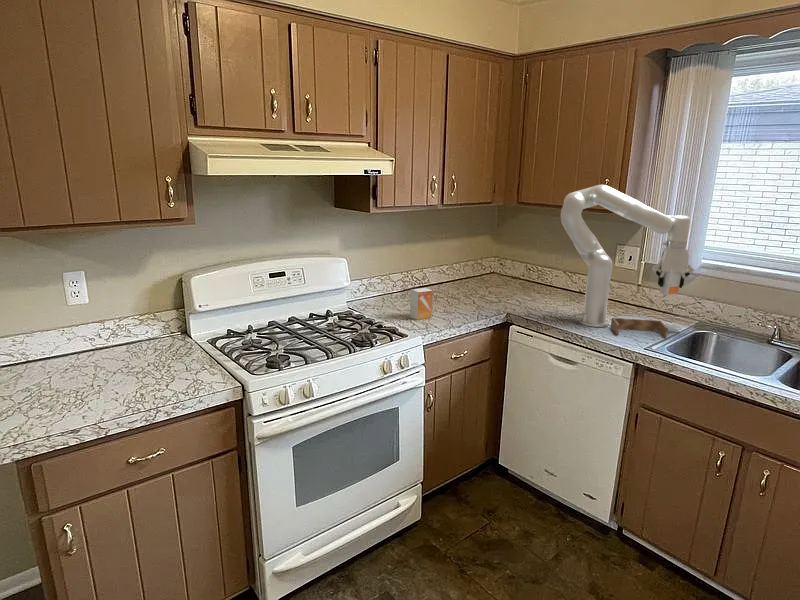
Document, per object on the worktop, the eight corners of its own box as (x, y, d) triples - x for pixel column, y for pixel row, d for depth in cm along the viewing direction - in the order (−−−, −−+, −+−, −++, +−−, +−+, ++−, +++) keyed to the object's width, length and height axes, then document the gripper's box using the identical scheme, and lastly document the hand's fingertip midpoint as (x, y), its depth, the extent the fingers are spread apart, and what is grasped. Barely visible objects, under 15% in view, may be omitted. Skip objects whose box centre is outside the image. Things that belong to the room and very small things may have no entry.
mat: (655, 331, 223) (655, 330, 223) (648, 325, 232) (648, 323, 232) (680, 333, 221) (680, 331, 221) (672, 326, 231) (672, 325, 231)
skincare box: (667, 295, 220) (671, 267, 217) (659, 293, 224) (663, 265, 221) (678, 295, 222) (683, 267, 219) (671, 292, 226) (675, 265, 223)
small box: (417, 320, 233) (418, 292, 230) (409, 317, 239) (410, 289, 235) (432, 317, 238) (433, 290, 235) (423, 314, 243) (424, 287, 240)
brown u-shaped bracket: (616, 335, 217) (617, 324, 216) (610, 327, 227) (611, 317, 226) (666, 338, 214) (668, 327, 213) (658, 330, 224) (659, 320, 223)
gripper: (656, 245, 216) (651, 287, 220) (702, 247, 213) (695, 289, 217) (651, 243, 223) (646, 283, 227) (695, 245, 220) (688, 286, 224)
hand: (670, 286), depth 222 cm, fingers closed on skincare box, 7 cm apart
